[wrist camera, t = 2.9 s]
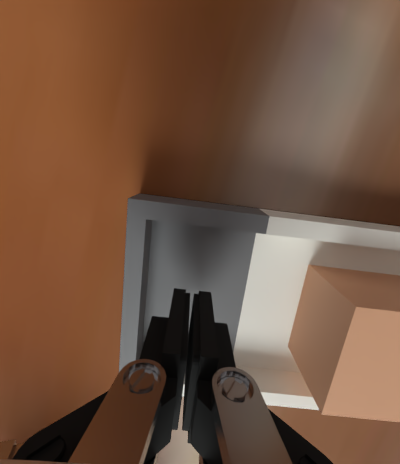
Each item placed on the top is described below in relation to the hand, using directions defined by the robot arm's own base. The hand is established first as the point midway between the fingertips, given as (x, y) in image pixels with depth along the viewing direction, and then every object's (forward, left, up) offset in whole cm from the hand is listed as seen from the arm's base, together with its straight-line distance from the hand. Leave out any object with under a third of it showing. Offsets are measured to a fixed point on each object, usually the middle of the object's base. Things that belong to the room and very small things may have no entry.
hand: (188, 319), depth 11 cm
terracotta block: (-9, 0, -2) cm, 9 cm away
